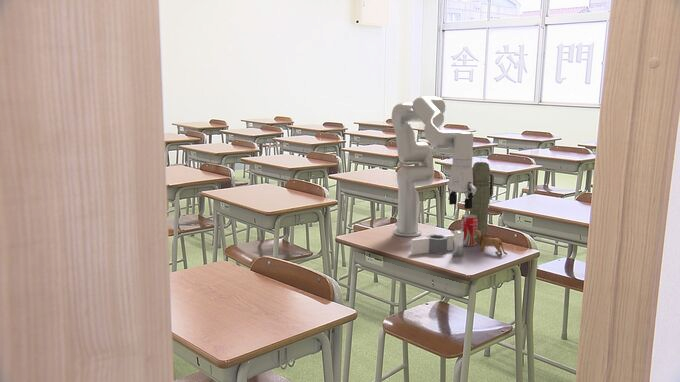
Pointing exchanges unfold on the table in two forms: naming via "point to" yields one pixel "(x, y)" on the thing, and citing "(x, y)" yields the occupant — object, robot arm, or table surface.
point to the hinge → (432, 244)
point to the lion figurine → (487, 241)
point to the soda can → (469, 229)
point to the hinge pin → (458, 243)
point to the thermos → (482, 194)
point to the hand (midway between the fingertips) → (460, 206)
